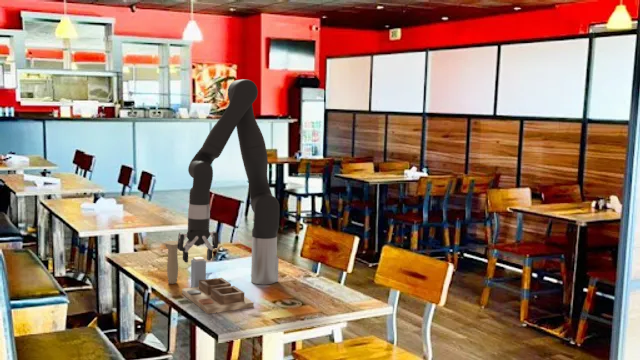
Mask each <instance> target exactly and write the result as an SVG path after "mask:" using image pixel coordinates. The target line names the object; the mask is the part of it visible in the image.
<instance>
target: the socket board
mask: <svg viewBox="0 0 640 360" xmlns="http://www.w3.org/2000/svg"><path fill="white" fill-rule="evenodd" d="M181 294H182V295H183V296H185V297H186V298H187V299H189V300H190V301H191V302H193V304H195V305H196V306H197V307H199V309H201V310H202V311H203V312H205V313H206V314H207V315H209V314H216V312H217V313H221V312H228V311H235V310H242V309H247V308H254V303H255V302H253V301H252V300H251V299H249V298H248V297H246V296H245V292H244V291H243V290H241V289H240V288H238V287H237V286H235V285H232V283H231V282H230V281H228V280H226V279H224V278H223V277H216V278H215V277H214V278H206V280H199V287H193V288H192V287H186V288H185V287H184V288H182V289H181Z"/></svg>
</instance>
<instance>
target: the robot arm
mask: <svg viewBox="0 0 640 360" xmlns="http://www.w3.org/2000/svg"><path fill="white" fill-rule="evenodd" d="M258 92H259V90H258V86H257V85H256V83H255V82H254V81H252V80H250V79H243V78H242V79H237V80H234V81H232V82H231V83H230V84H229V86H228V89H227V96H228V101H229V103H228V105H227V107H226V108H225V111H224V112H223V114H222V115H221V116H220V118H219V119H218V120H217V122H216V123H215V124H214V125H213V127H212V129H211V130H210V131H209V133H208V135H207V136H206V138H205V140H204V142H203V144H202V146H201V147H200V149H198V151H197V152H196V153H195V155H194V156H193V158H192V159H191V161H190V163H189V166H188V168H187V169H188V170H187V171H188V174H189V176H190V177H192V178H193V179H192V187H191V188H190V190H189V197H188V198H189V201H188V203H189V204H188V210H187V232H186V233H182V232H179V233H178V235H177V236H178V238H177V241H178V247H177V248H178V249H177V251H178V250H179V251H180V252H182V261H183V262H184V263H186V264H187V263H189V252H188V251H189V250H190V249H191V248H192V247H193V246H199V245H201V246H203V245H205V247H206V248H207V249H206V261H211V260H212V259H213V252H214V251H213V250H215V249H218V248H219V239H218V237H219V234H218V232H217V231H215V230H212V231H210V221H211V220H210V218H211V217H210V216H211V209H210V199H211V198H210V197H211V196H210V195H211V194H210V191H211V187H212V183H213V177H214V169H213V167H212V164H213V162H214V160H216V159H218V158H220V156H221V154H222V152H223V150H224V149H225V147H226V146H227V144H228V141H229V140H230V138H231V136H232V134H233V132H234V131H235V130H236V133H237V138H238V143H239V144H238V145H239V149H240V155H241V158H242V164H243V167H244V172H245V174H246V177H247V180H248V187H249V198H250V206H251V209H252V212H253V213H254V221H253V222H254V223H253V228H252V230H251V266H250V267H251V270H250V271H251V273H250V274H251V275H250V281H251V283H253V284H256V285H272V284H275V283H277V282H279V260H280V259H279V256H277V255H278V253H277V251H278V250H277V249H278V245H277V244H278V232H279V229H280V228H279V226H280V203H279V200H278V198H277V197H275V196H274V195H273V193H272V191H271V188H270V184H269V178H268V162H269V161H268V160H269V159H268V152H267V151H268V150H267V147H266V142H265V139H264V135H263V133H262V130H261V128H260V126H259V125H258V122H257V121H256V120H257V119H256V117H255V115H254V106H253V104H254V103H255V101H256V100H257V98H258V94H259V93H258ZM186 238H187V241H186V242H185V240H186ZM210 238H211V242H210V241H209V239H210ZM184 243H185V244H184Z"/></svg>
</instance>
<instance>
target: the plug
mask: <svg viewBox="0 0 640 360" xmlns="http://www.w3.org/2000/svg"><path fill="white" fill-rule="evenodd" d="M190 261H191V262H190V264H191V265H190V288H193V287H199V280H206V279H207V275H206V274H207V260H206V259H205V258H204V257H202V256H195V257H192V259H190Z"/></svg>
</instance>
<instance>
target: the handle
mask: <svg viewBox="0 0 640 360" xmlns="http://www.w3.org/2000/svg"><path fill="white" fill-rule="evenodd" d="M164 244H165V248H166V249H167V264H166V269H167V270H166V274H167V283H168V284H170V285H171V284H172V285H174V284H177V282H178V276H179V260H178V259H179V258H178V248H177V247H178V240H166V241H165V243H164Z"/></svg>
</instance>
